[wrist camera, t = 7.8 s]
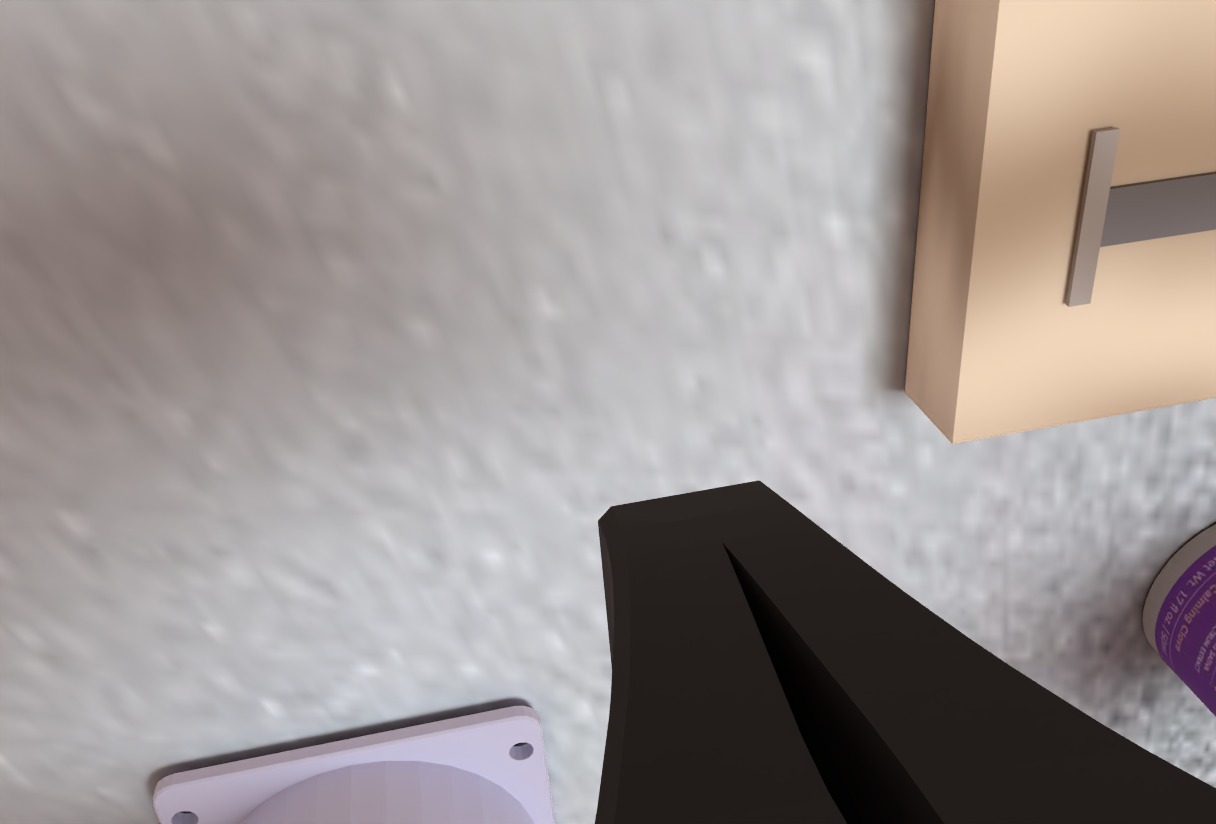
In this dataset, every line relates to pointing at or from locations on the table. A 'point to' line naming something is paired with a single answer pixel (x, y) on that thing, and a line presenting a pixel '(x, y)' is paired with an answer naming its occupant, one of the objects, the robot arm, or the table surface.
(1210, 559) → the container
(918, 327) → the fader console
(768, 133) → the table surface
